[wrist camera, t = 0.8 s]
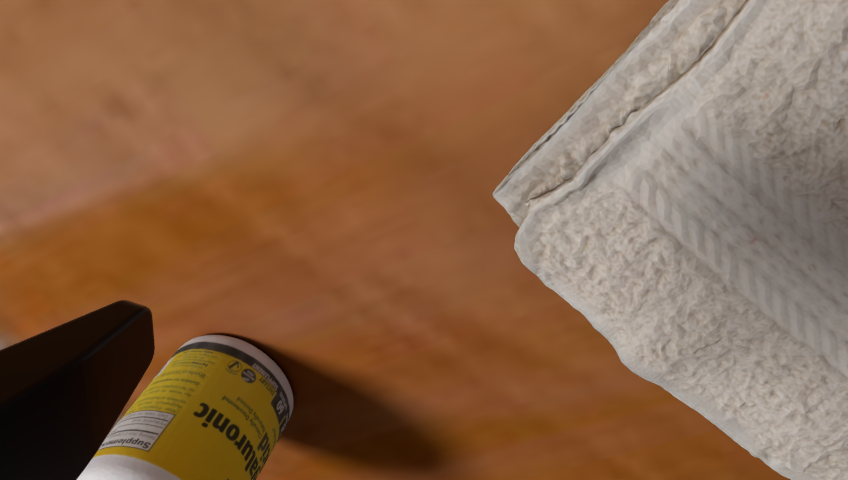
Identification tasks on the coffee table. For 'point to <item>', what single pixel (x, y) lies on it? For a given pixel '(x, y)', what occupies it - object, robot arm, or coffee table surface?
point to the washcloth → (712, 219)
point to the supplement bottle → (200, 417)
